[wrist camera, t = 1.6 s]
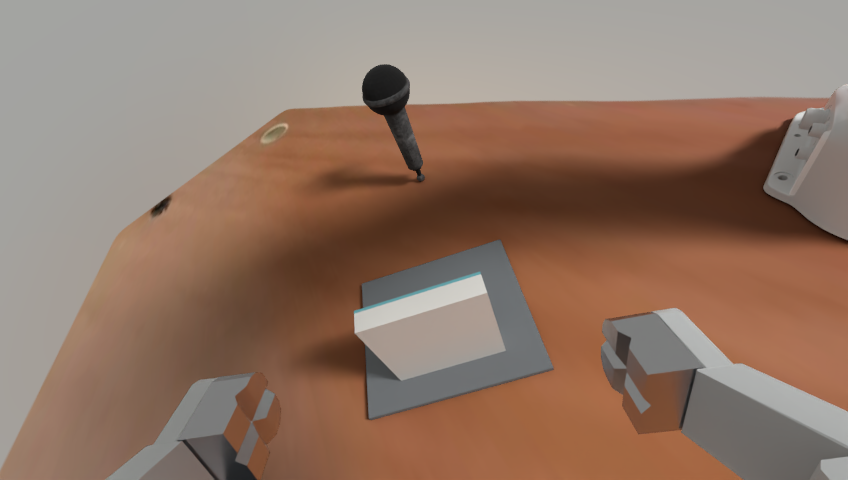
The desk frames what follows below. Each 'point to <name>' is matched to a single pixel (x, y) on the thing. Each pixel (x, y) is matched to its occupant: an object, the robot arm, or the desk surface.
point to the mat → (475, 375)
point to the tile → (432, 327)
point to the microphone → (393, 109)
